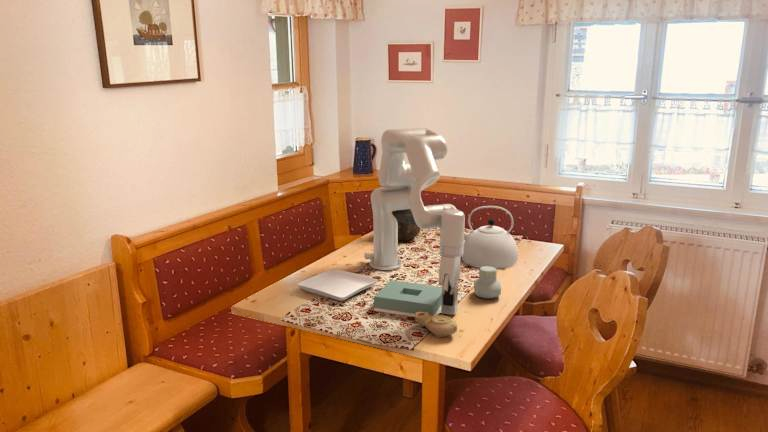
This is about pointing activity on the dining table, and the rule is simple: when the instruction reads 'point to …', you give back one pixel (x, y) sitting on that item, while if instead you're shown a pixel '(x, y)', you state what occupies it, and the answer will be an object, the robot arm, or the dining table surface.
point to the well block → (408, 298)
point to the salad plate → (337, 284)
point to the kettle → (490, 245)
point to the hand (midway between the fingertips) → (449, 302)
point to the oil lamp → (437, 324)
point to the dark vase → (406, 225)
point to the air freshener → (487, 283)
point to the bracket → (453, 309)
